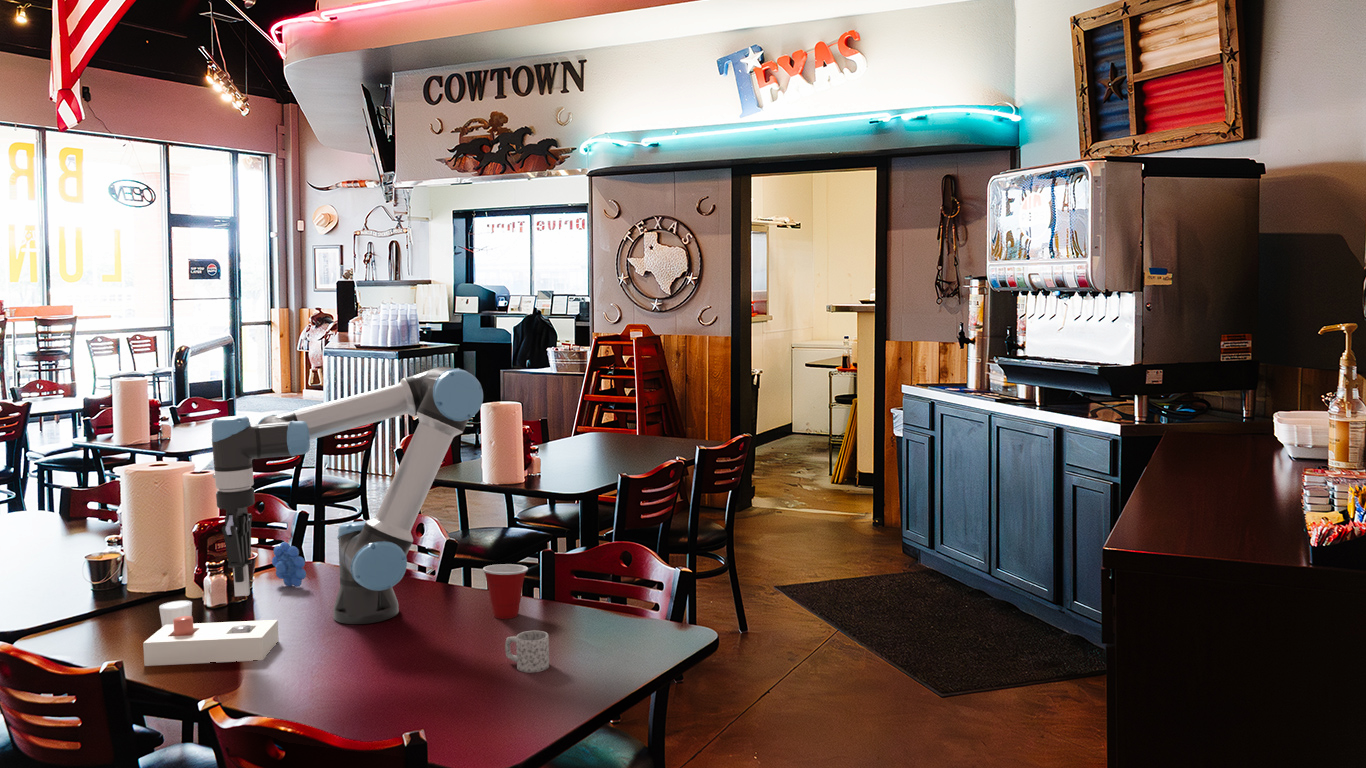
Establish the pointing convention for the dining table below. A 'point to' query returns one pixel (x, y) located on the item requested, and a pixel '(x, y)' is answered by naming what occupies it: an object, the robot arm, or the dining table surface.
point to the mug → (530, 651)
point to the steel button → (241, 629)
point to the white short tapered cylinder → (174, 611)
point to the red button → (183, 626)
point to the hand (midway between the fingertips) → (242, 594)
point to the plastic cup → (505, 588)
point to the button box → (211, 643)
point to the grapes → (289, 564)
